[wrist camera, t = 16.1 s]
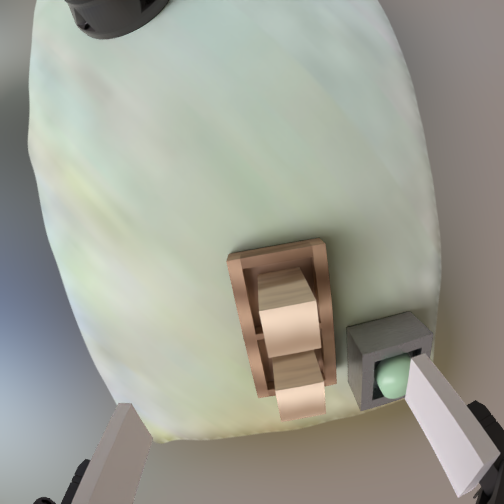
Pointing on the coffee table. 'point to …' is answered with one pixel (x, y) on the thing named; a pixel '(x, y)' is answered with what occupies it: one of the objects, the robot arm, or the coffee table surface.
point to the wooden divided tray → (246, 297)
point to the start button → (393, 375)
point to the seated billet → (298, 386)
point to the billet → (288, 312)
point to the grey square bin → (382, 352)
